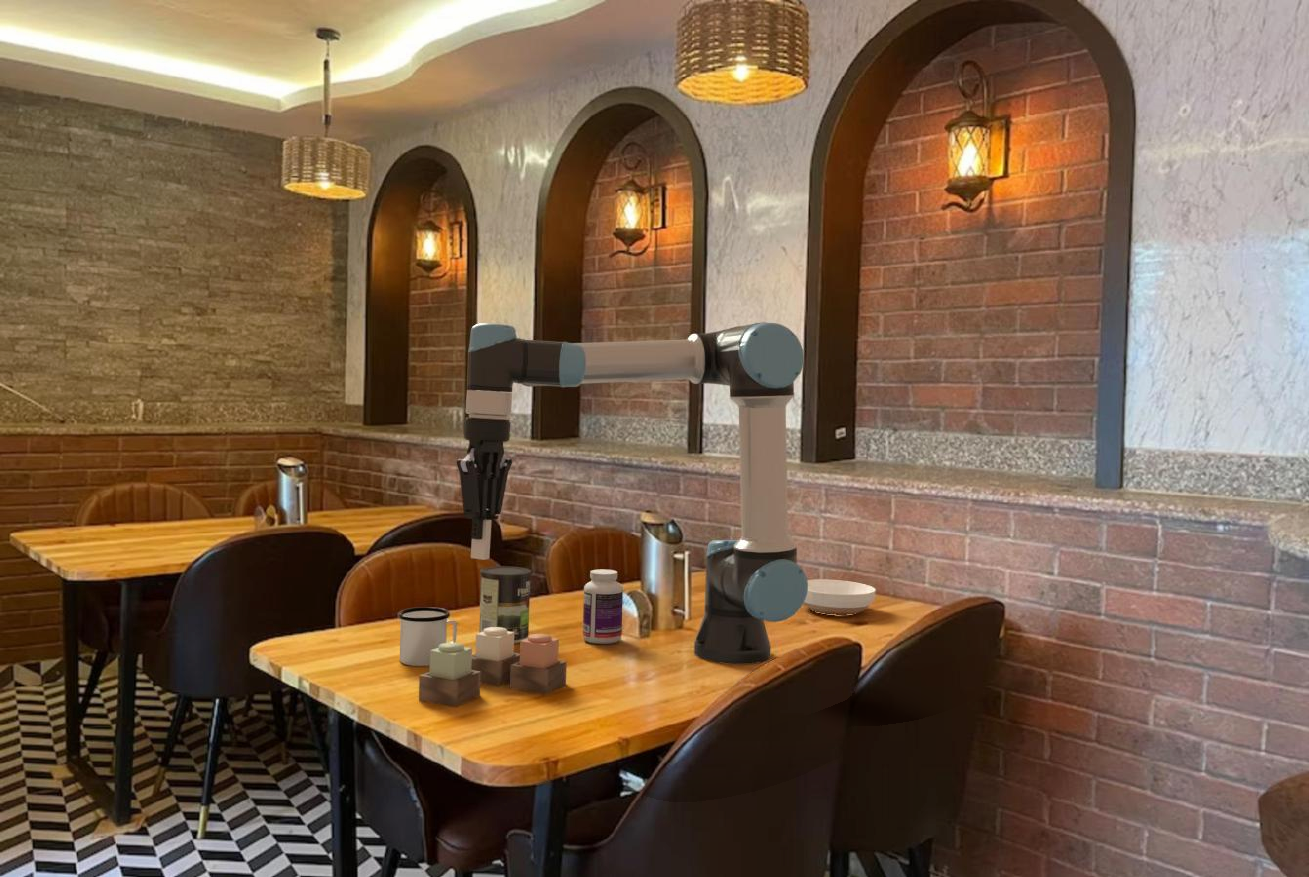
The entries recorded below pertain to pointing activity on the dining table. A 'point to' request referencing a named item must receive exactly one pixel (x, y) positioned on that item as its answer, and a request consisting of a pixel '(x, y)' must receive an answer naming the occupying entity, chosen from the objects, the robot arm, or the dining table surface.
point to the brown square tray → (449, 689)
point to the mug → (423, 633)
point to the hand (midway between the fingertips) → (480, 558)
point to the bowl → (838, 596)
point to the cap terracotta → (539, 651)
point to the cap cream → (494, 644)
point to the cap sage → (450, 661)
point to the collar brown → (538, 677)
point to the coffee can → (505, 600)
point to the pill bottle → (602, 608)
